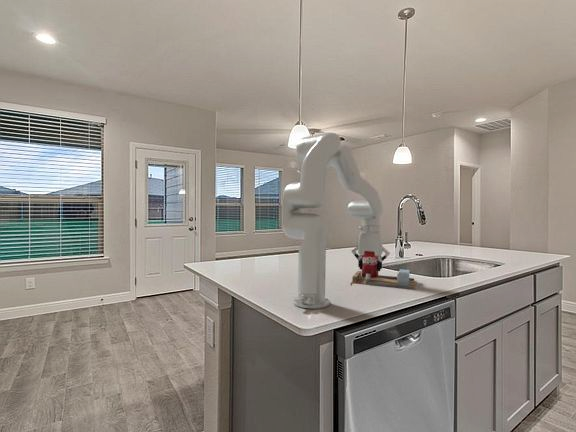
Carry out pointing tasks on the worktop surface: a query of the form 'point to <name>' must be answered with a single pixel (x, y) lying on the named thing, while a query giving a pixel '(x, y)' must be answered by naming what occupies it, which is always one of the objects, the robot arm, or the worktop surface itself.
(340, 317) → the worktop surface
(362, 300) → the worktop surface
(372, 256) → the soda can
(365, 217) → the robot arm
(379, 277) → the board
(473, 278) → the worktop surface
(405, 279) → the jaw
